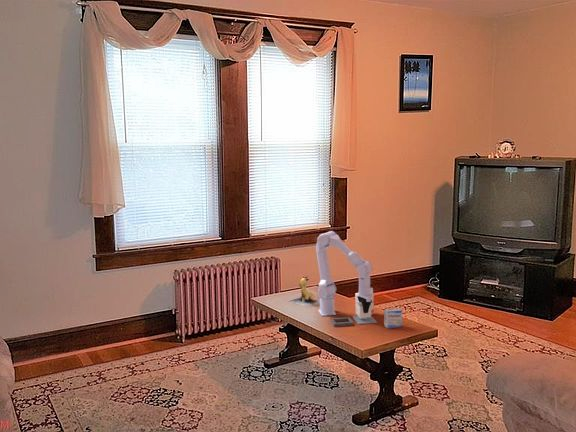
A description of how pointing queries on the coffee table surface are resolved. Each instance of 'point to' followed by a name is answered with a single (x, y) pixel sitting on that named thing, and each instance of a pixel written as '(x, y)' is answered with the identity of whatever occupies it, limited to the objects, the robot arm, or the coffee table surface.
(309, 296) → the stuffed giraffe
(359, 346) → the coffee table surface
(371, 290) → the ink cartridge box
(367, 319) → the slate board
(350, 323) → the holder
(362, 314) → the plug
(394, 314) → the medicine box
